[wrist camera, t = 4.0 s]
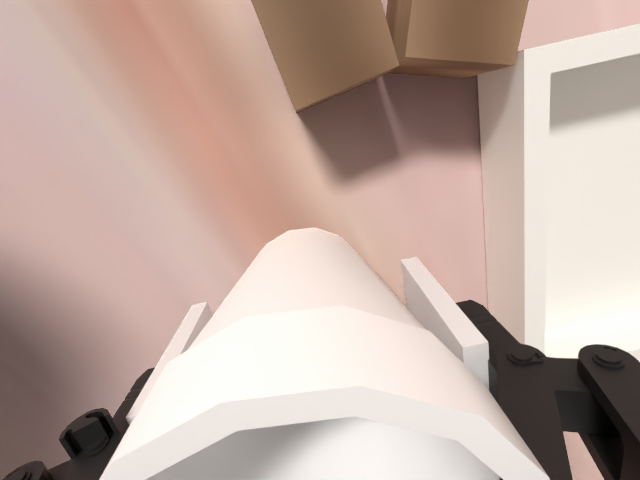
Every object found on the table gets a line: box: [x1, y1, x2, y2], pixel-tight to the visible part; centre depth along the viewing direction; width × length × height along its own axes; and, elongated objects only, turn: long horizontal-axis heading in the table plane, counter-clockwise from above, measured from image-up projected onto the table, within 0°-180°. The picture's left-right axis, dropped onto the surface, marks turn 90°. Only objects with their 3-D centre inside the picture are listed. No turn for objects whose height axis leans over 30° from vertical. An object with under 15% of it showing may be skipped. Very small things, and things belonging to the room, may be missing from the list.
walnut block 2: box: [386, 0, 529, 78], centre depth 13 cm, size 4×4×4 cm
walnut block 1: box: [251, 0, 399, 113], centre depth 13 cm, size 4×4×4 cm
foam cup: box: [99, 228, 550, 480], centre depth 13 cm, size 10×9×13 cm
